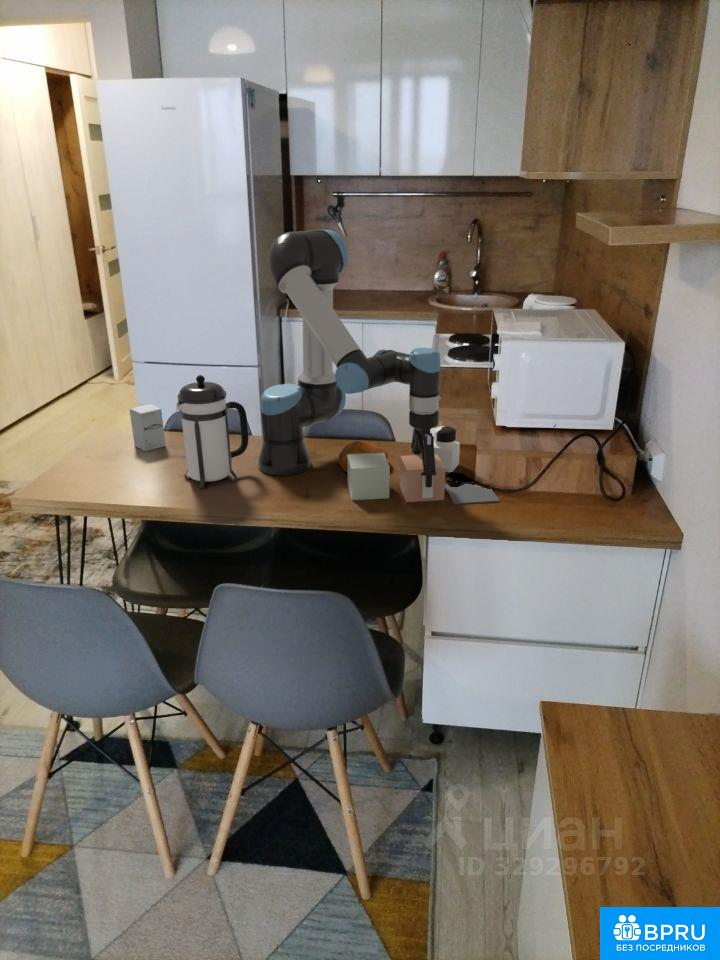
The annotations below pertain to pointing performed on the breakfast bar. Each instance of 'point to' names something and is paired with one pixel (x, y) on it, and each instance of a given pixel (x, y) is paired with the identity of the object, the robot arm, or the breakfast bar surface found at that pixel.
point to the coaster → (470, 494)
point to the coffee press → (208, 431)
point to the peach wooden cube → (420, 478)
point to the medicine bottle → (447, 447)
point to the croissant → (358, 451)
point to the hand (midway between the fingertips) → (422, 486)
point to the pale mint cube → (368, 476)
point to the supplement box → (147, 427)
